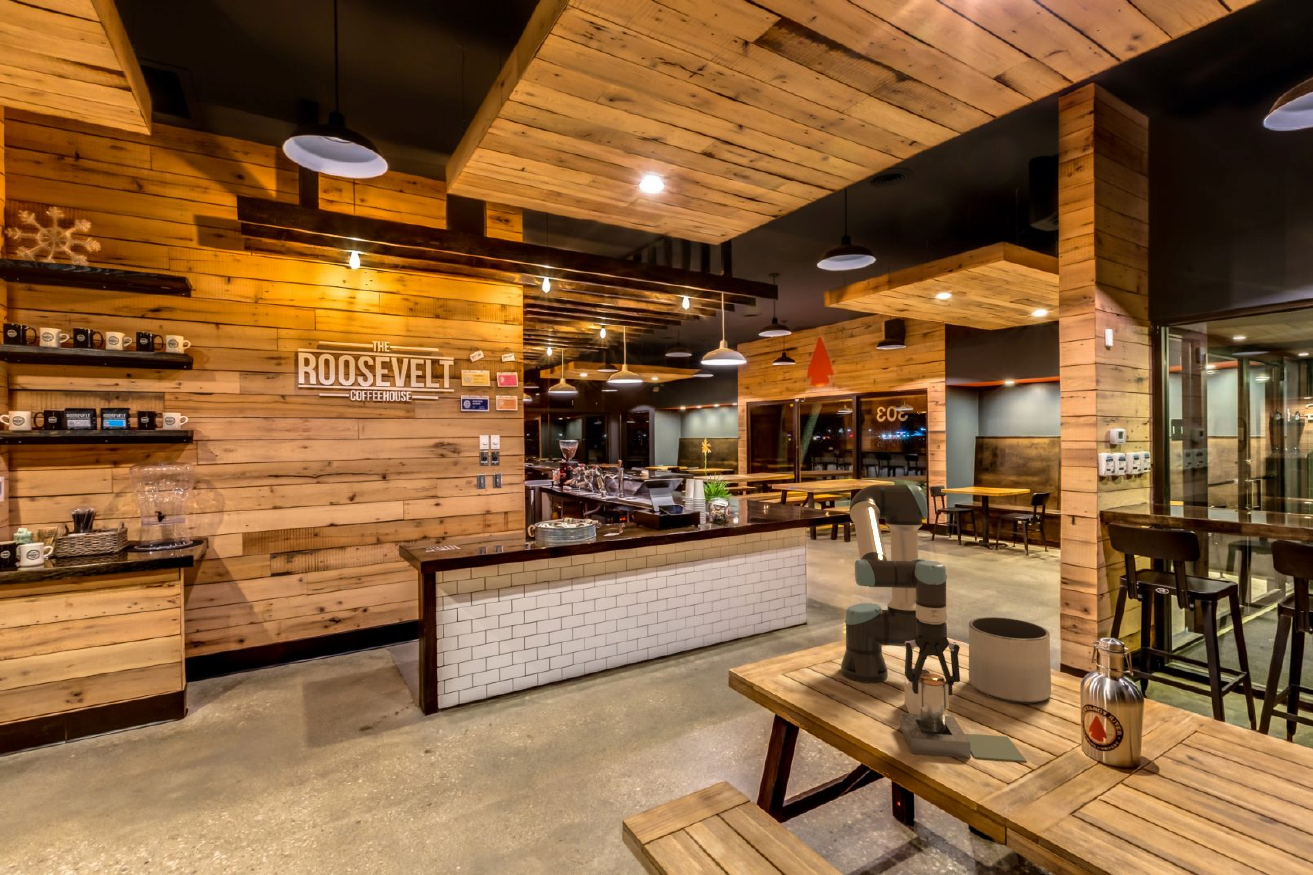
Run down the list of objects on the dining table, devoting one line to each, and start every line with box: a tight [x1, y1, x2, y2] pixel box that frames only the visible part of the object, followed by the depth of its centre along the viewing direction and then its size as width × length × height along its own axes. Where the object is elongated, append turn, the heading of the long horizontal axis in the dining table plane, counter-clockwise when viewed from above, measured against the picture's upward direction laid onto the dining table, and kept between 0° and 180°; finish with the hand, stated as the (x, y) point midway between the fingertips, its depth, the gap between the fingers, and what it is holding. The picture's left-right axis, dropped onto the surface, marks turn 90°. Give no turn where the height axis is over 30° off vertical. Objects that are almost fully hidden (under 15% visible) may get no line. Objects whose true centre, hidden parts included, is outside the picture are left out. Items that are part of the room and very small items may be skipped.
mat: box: [964, 733, 1028, 763], centre depth 157 cm, size 12×12×1 cm
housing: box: [899, 712, 972, 759], centre depth 160 cm, size 14×14×4 cm
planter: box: [968, 616, 1052, 705], centre depth 191 cm, size 23×23×20 cm
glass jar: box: [920, 672, 946, 731], centre depth 161 cm, size 6×6×13 cm
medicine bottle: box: [903, 666, 931, 714], centre depth 179 cm, size 7×7×12 cm
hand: (932, 705), depth 161 cm, fingers closed on glass jar, 6 cm apart
